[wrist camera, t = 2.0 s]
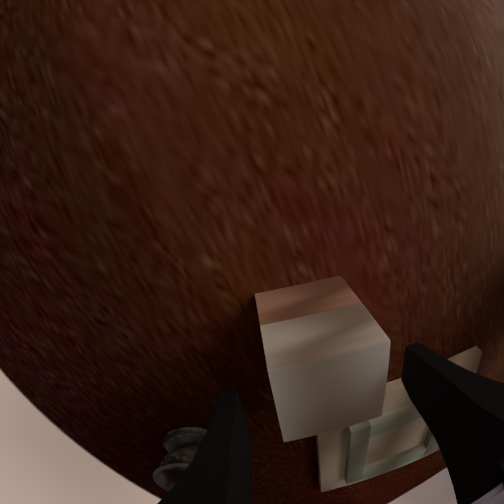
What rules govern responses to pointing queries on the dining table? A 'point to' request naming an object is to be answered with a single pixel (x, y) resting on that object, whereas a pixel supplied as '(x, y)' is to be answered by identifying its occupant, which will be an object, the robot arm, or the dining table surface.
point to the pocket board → (381, 437)
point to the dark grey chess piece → (177, 455)
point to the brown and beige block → (322, 357)
